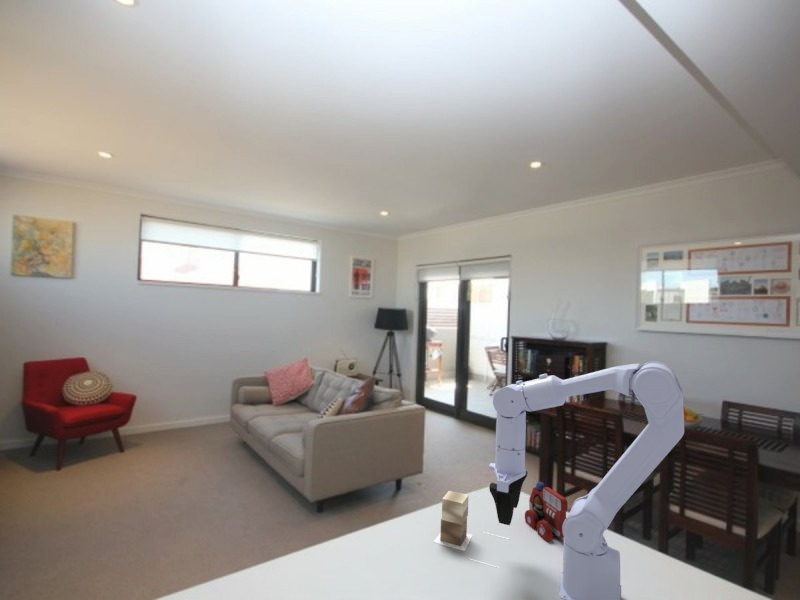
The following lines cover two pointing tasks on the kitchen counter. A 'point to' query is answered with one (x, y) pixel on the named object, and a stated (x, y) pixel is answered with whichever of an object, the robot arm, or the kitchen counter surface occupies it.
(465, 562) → the kitchen counter surface
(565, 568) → the robot arm
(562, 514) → the toy fire truck
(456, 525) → the walnut block
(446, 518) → the maple block
